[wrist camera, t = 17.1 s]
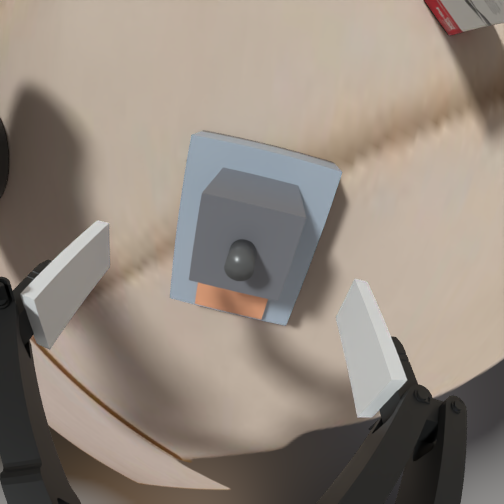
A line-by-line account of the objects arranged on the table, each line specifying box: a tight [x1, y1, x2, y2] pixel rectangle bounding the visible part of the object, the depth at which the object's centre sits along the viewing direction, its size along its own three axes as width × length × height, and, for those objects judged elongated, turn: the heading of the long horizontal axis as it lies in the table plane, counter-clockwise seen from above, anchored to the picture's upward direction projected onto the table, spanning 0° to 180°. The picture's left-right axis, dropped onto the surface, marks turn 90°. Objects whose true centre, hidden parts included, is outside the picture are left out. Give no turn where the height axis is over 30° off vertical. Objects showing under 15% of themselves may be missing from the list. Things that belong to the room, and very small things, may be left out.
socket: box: [170, 131, 342, 326], centre depth 27 cm, size 12×16×4 cm
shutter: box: [195, 283, 268, 319], centre depth 25 cm, size 7×7×3 cm
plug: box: [189, 167, 306, 301], centre depth 21 cm, size 6×6×12 cm
